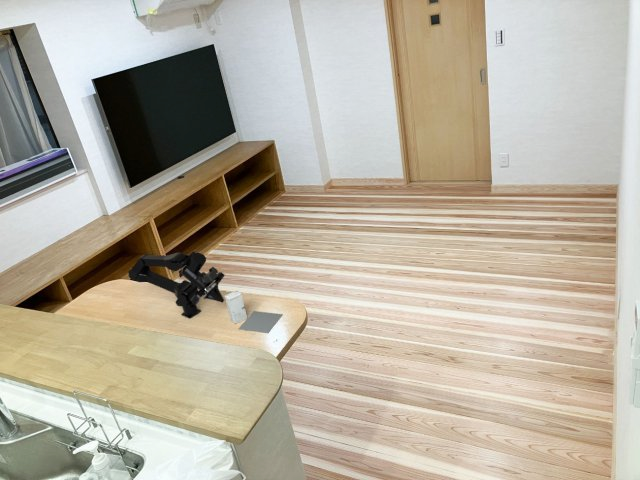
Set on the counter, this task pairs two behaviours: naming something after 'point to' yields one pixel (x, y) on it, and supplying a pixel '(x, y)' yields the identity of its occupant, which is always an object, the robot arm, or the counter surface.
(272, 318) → the slate mat
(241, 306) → the skincare box
